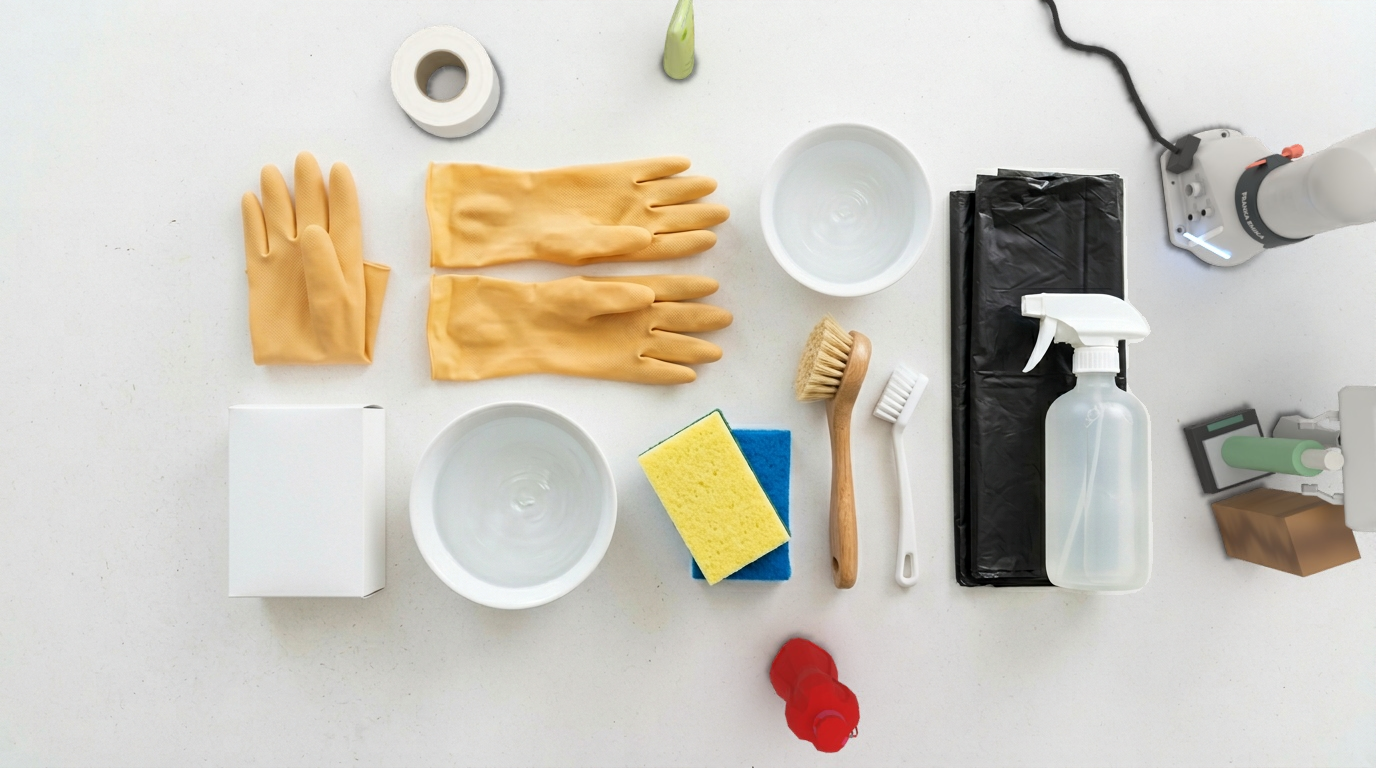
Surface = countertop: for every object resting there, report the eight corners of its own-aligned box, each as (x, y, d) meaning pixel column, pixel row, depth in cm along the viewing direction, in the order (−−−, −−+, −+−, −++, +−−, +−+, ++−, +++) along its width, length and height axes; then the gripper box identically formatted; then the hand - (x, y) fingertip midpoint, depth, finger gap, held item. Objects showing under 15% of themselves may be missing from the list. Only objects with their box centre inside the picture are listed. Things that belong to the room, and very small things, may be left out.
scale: (1183, 428, 126) (1194, 429, 123) (1245, 408, 126) (1257, 408, 123) (1204, 492, 126) (1215, 494, 123) (1266, 472, 126) (1279, 473, 123)
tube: (700, 76, 125) (706, 16, 105) (671, 88, 125) (672, 31, 105) (686, 44, 125) (689, -22, 105) (657, 56, 125) (656, -7, 105)
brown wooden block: (1210, 503, 126) (1284, 517, 111) (1261, 486, 126) (1342, 498, 111) (1227, 556, 125) (1303, 577, 110) (1279, 539, 126) (1361, 558, 111)
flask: (1309, 462, 126) (1365, 468, 116) (1267, 453, 126) (1319, 458, 116) (1317, 419, 126) (1373, 421, 116) (1275, 410, 126) (1327, 411, 116)
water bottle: (818, 713, 123) (857, 792, 98) (760, 677, 123) (784, 747, 98) (849, 663, 123) (895, 730, 98) (791, 627, 123) (822, 685, 98)
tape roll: (493, 35, 124) (485, 18, 118) (506, 131, 124) (498, 119, 118) (396, 47, 123) (383, 30, 118) (408, 143, 123) (396, 131, 118)
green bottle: (1216, 441, 123) (1310, 448, 105) (1247, 431, 123) (1346, 436, 105) (1226, 472, 123) (1322, 484, 105) (1257, 462, 123) (1357, 473, 105)
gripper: (1429, 381, 100) (1293, 385, 109) (1437, 539, 99) (1301, 529, 109) (1428, 380, 104) (1298, 384, 114) (1436, 531, 104) (1305, 523, 113)
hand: (1299, 456), depth 111 cm, fingers open, 8 cm apart
